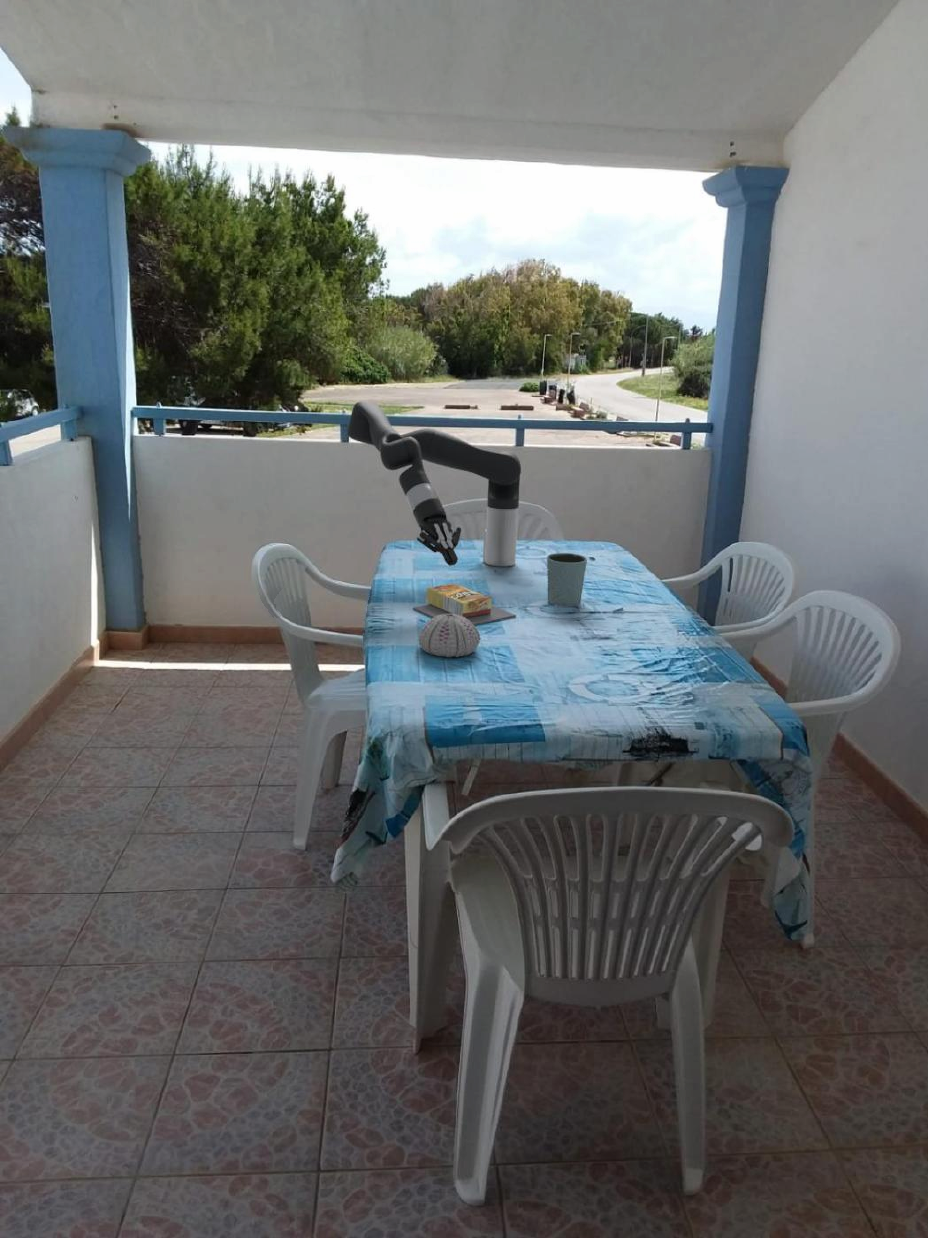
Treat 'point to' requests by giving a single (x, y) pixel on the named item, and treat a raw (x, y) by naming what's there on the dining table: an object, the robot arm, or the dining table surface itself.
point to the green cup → (565, 578)
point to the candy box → (458, 600)
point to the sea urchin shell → (449, 636)
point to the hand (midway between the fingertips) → (453, 563)
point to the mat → (475, 620)
